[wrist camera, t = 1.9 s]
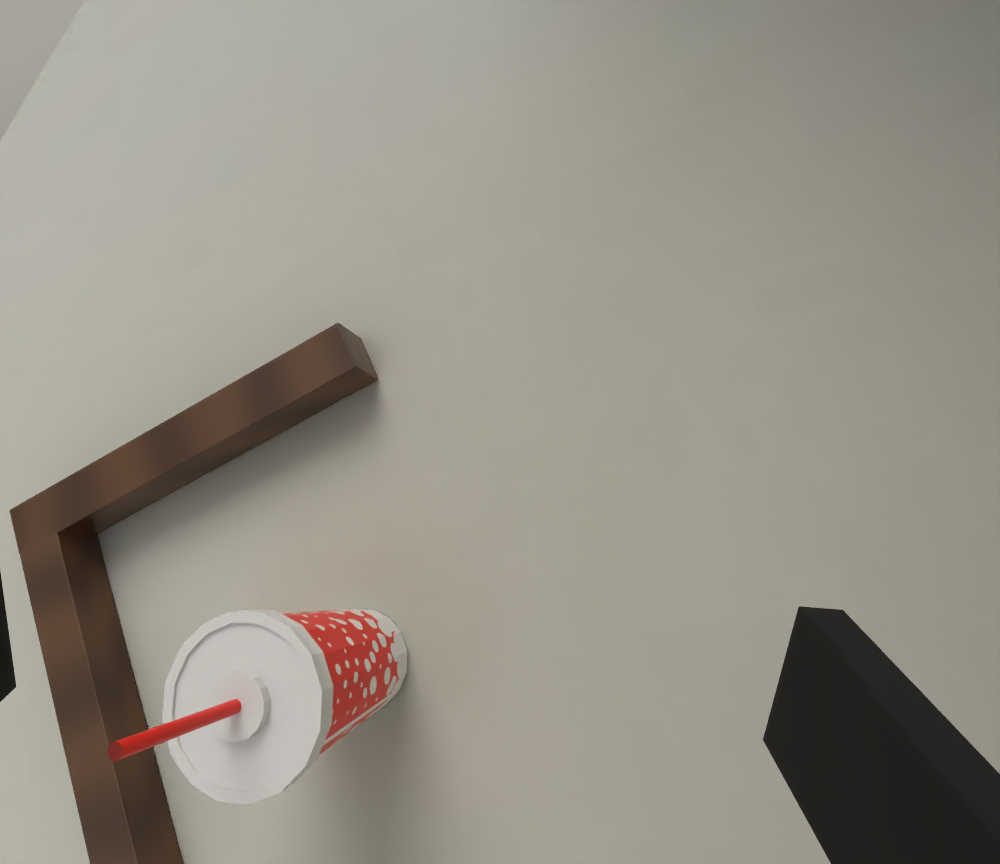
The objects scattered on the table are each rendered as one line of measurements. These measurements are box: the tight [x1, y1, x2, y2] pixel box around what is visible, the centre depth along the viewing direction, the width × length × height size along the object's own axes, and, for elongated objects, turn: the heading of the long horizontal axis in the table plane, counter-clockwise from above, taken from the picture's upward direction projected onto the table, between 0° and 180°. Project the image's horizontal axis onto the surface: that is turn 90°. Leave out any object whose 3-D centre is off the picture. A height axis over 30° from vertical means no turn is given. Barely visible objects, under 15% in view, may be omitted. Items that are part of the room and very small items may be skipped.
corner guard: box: [10, 323, 378, 864], centre depth 32 cm, size 16×29×2 cm, turn 160°
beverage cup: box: [107, 609, 408, 805], centre depth 23 cm, size 6×6×14 cm
